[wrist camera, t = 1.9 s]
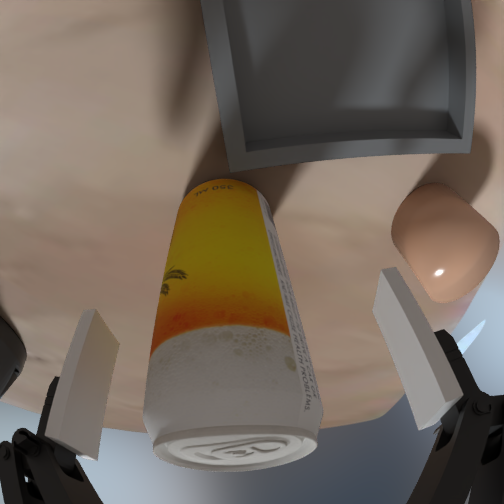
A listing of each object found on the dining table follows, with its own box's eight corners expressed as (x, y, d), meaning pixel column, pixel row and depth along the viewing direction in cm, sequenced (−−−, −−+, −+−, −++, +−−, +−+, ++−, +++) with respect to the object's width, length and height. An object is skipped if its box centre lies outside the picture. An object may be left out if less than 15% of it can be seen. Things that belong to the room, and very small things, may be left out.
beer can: (160, 203, 19) (101, 441, 7) (242, 156, 18) (288, 409, 6) (209, 265, 22) (211, 477, 10) (284, 229, 21) (347, 449, 9)
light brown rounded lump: (385, 260, 24) (416, 312, 19) (396, 185, 20) (442, 231, 15) (447, 248, 24) (481, 291, 19) (463, 180, 19) (509, 218, 15)
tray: (228, 157, 17) (230, 172, 15) (189, -78, 8) (185, -96, 6) (448, 140, 17) (470, 153, 15) (435, -56, 8) (457, -62, 6)
